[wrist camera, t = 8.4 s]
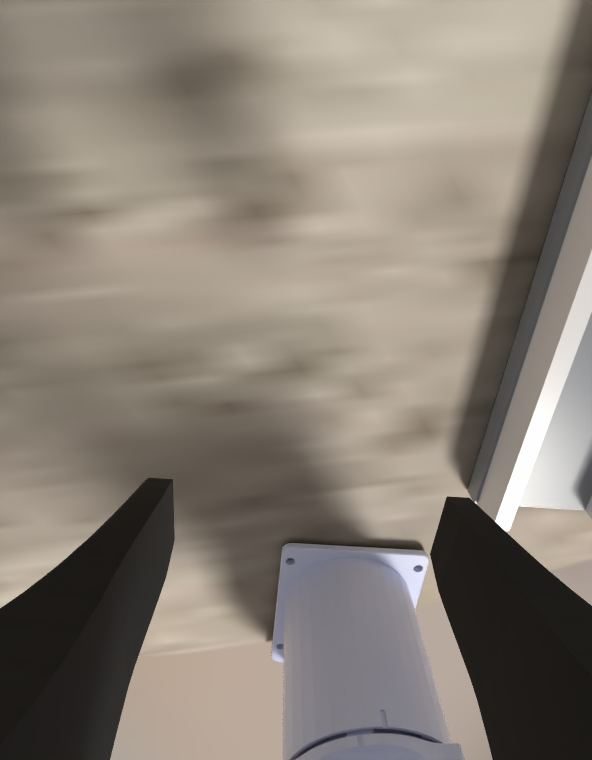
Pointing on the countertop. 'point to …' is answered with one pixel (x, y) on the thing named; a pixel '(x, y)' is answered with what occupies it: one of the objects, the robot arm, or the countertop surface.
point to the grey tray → (548, 370)
